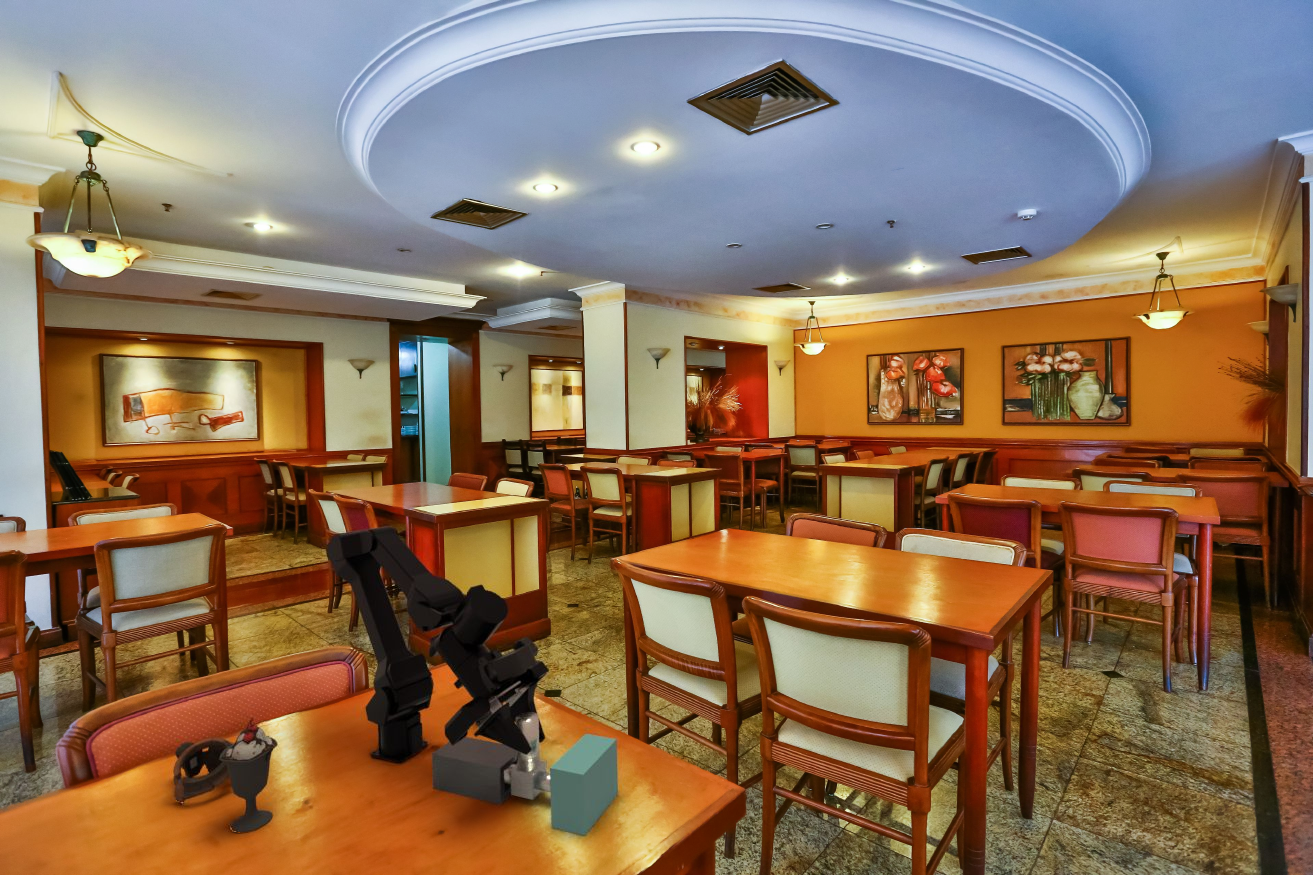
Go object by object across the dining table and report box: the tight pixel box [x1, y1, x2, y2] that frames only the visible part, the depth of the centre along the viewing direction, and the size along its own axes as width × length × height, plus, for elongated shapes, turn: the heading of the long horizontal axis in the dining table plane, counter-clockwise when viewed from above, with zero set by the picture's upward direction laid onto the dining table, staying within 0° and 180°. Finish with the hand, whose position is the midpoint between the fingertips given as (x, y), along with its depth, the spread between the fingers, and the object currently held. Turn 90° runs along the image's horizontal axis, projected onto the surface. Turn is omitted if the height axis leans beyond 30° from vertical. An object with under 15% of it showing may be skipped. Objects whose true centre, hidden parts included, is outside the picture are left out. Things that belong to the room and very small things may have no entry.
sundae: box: [219, 716, 278, 834], centre depth 88 cm, size 7×7×15 cm
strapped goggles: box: [172, 737, 235, 803], centre depth 97 cm, size 12×10×8 cm
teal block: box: [549, 733, 619, 837], centre depth 89 cm, size 5×10×8 cm, turn 158°
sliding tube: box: [504, 712, 550, 801], centre depth 94 cm, size 19×4×11 cm, turn 68°
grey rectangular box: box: [431, 736, 517, 806], centre depth 95 cm, size 12×6×5 cm, turn 68°
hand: (536, 746), depth 91 cm, fingers closed on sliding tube, 3 cm apart
